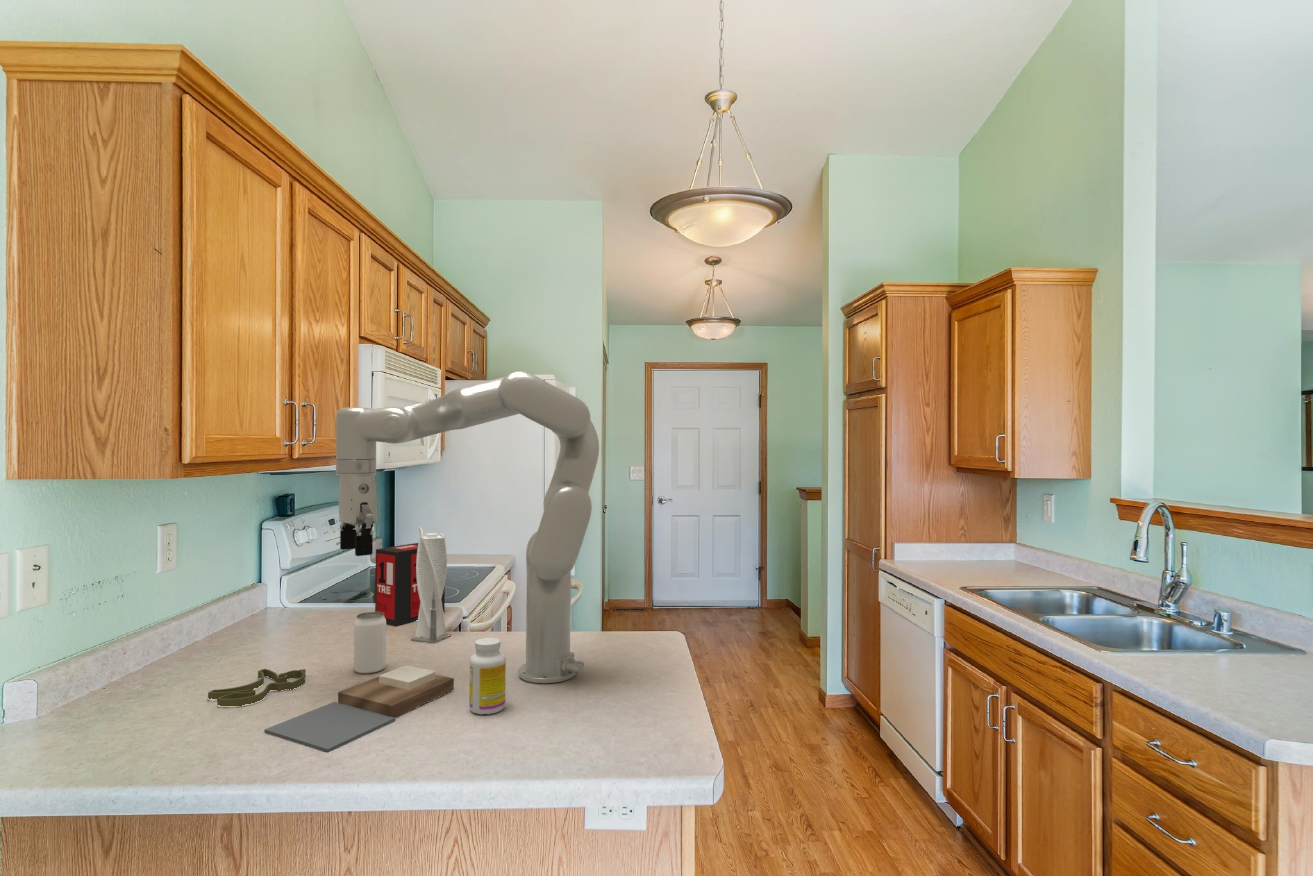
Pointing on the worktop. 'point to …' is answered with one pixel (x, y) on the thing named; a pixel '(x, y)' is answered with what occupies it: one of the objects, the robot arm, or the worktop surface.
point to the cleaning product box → (398, 584)
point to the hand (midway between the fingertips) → (356, 551)
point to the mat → (329, 726)
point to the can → (370, 643)
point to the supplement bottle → (487, 677)
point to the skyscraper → (431, 587)
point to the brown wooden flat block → (393, 696)
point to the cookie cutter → (246, 692)
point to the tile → (407, 677)
